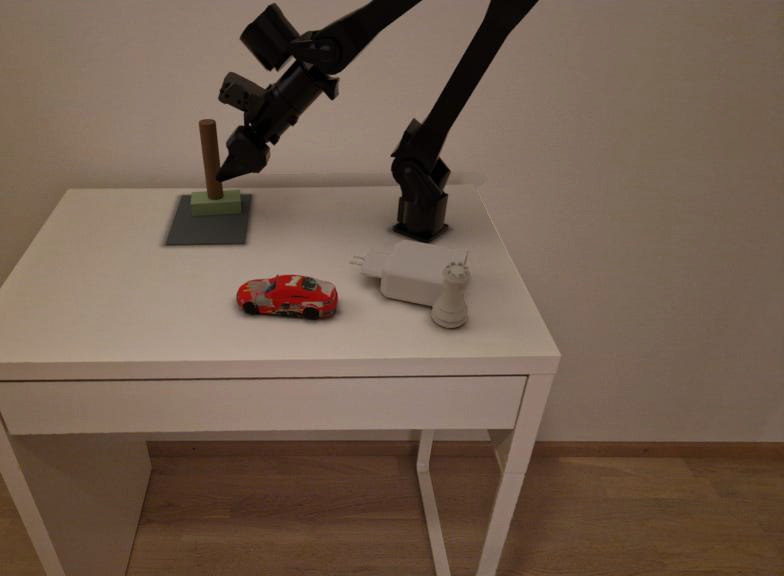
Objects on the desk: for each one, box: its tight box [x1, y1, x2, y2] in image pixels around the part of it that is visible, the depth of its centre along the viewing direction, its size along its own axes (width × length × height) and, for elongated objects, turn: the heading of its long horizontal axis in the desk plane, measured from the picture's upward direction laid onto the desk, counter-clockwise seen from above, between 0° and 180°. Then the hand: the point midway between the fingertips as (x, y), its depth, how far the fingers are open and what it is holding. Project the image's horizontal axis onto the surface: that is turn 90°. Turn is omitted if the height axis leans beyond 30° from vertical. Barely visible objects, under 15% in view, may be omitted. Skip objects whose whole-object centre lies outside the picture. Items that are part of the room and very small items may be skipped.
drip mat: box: [164, 193, 252, 246], centre depth 96 cm, size 17×12×1 cm
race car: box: [235, 273, 339, 320], centre depth 76 cm, size 13×5×4 cm, turn 80°
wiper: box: [190, 118, 241, 216], centre depth 94 cm, size 8×4×14 cm, turn 96°
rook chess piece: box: [430, 261, 471, 329], centre depth 71 cm, size 4×4×8 cm
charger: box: [348, 239, 469, 307], centre depth 79 cm, size 5×9×15 cm
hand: (224, 168), depth 95 cm, fingers open, 9 cm apart
